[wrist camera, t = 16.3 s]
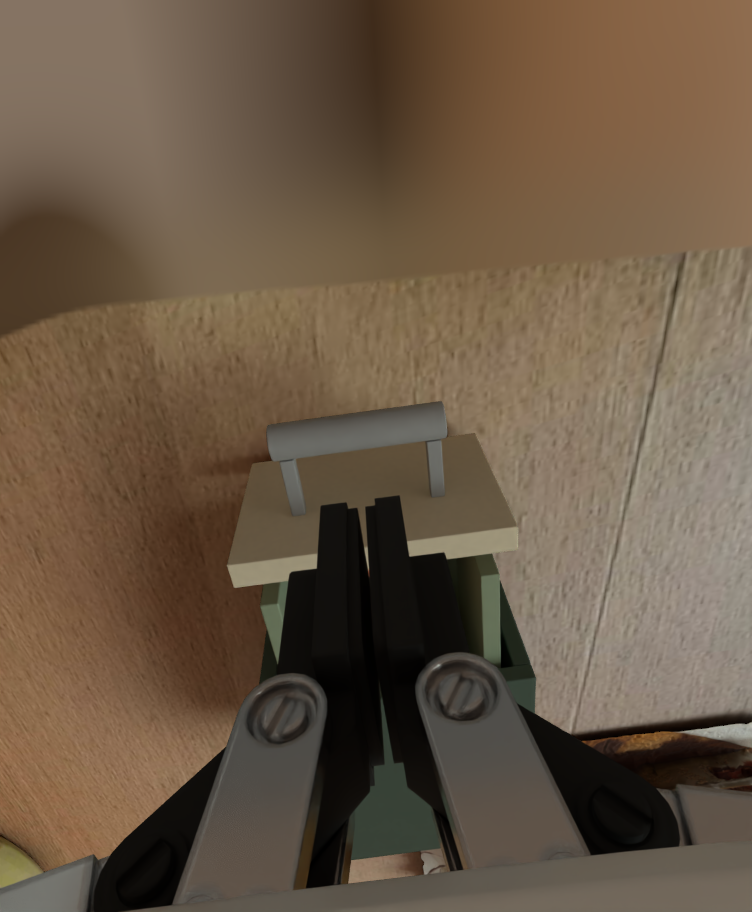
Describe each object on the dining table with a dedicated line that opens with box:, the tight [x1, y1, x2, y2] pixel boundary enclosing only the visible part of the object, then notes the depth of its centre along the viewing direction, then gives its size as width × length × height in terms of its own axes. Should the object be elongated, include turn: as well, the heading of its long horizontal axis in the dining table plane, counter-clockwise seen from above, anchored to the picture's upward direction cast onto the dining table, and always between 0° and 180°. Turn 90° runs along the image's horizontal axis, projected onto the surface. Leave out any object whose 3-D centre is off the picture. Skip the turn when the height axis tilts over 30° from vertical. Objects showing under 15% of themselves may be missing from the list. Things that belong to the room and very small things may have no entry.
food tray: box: [420, 722, 752, 875], centre depth 45 cm, size 35×26×11 cm
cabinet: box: [259, 581, 536, 860], centre depth 33 cm, size 14×13×10 cm
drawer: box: [227, 401, 518, 683], centre depth 27 cm, size 17×11×8 cm
